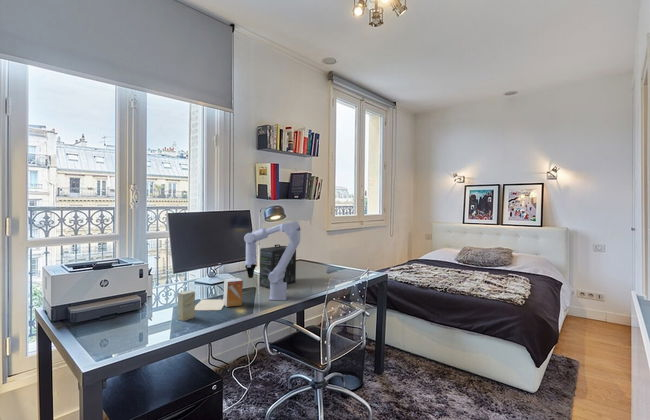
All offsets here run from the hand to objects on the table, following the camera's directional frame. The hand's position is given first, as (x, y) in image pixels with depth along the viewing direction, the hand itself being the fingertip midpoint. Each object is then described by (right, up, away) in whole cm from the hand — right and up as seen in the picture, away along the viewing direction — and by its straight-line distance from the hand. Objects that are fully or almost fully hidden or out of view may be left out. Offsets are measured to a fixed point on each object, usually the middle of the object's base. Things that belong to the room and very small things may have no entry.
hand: (250, 277), depth 188 cm
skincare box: (-21, -11, -36) cm, 44 cm away
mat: (-17, -11, -17) cm, 26 cm away
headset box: (+12, -10, +26) cm, 31 cm away
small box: (-6, -11, -16) cm, 20 cm away
